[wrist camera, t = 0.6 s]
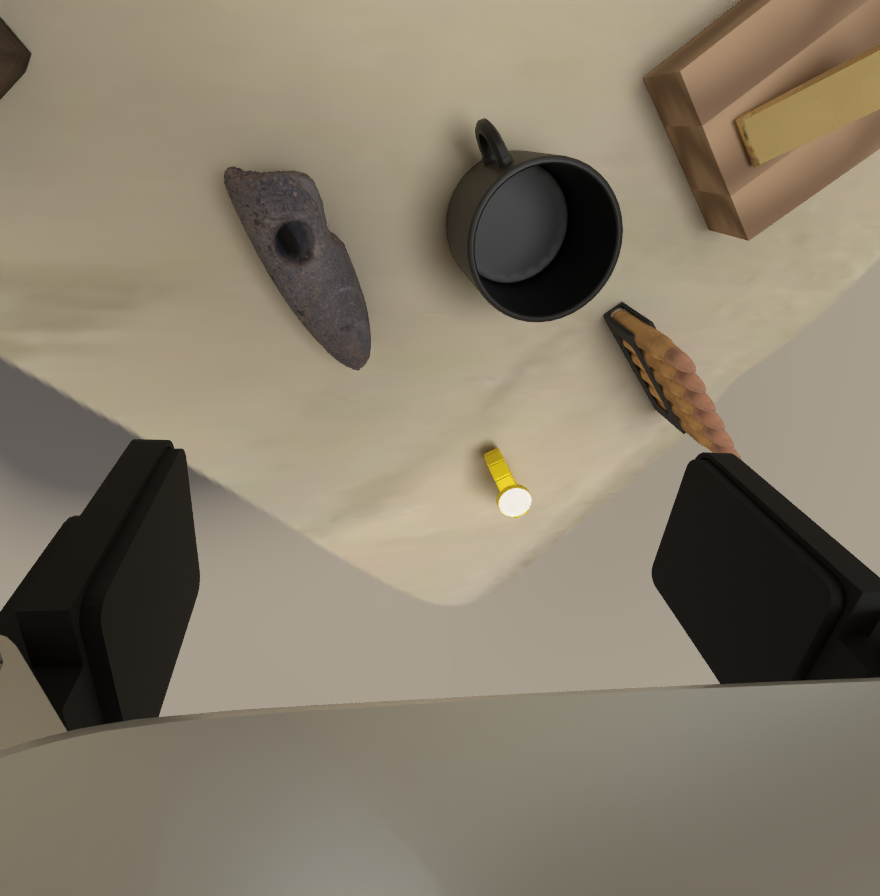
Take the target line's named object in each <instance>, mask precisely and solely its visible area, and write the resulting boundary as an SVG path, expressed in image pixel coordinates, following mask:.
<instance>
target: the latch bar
mask: <svg viewBox="0 0 880 896" xmlns="http://www.w3.org/2000/svg"><path fill="white" fill-rule="evenodd" d="M879 109H880V44H878V45H876V46H874V47H873V48H871V49H869V50H867V51H865V52H863V53H861V54H859V55H857V56H855V57H853V58H851V59H849V60H848V61H846V62H844V63H842V64H840V65H838V66H836V67H834V68H832V69H830V70H828V71H826V72H825V73H823V74H821V75H819V76H817V77H815V78H813V79H811V80H809V81H807V82H805V83H803V84H802V85H800V86H798V87H796V88H794V89H792V90H790V91H788V92H786V93H784V94H782V95H780V96H778V97H777V98H775V99H773V100H771V101H769V102H767V103H765V104H763V105H761V106H759V107H757V108H755V109H754V110H749V111H746V112H744V113H743V114H741V115H739V116H738V117H737V118H736V119H735V121H736V124H737V126H738V129H739V132H740V134H741V137H742V140H743V142H744V145H745V148H746V150H747V153H748V156H749V158H750V161H751V164H752V166H753V167H754V168H755V167H759V166H761V165H763V164H765V163H766V162H768V161H769V160H771V159H773V158H775V157H777V156H780V155H782V154H784V153H786V152H788V151H790V150H793V149H795V148H797V147H799V146H801V145H803V144H806V143H808V142H810V141H812V140H814V139H816V138H819V137H821V136H823V135H825V134H827V133H829V132H832V131H834V130H836V129H838V128H840V127H842V126H845V125H847V124H849V123H851V122H853V121H855V120H858V119H860V118H862V117H864V116H866V115H868V114H871V113H873V112H875V111H877V110H879Z"/></svg>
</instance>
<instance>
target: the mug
mask: <svg viewBox="0 0 880 896" xmlns="http://www.w3.org/2000/svg"><path fill="white" fill-rule="evenodd" d="M475 134H476V139H477V143H478V146H479V149H480V152H481V154H482V157H483V158H482V159H481V160H482V161H481V162H479V163H478V164H476V165H475V166H474V167H473V168H472V169H471V170H470V171H468V172H467V173H466V175H465V176H464V177H463V179H462V180H461V181H460V183H459V184H458V186H457V188H456V189H455V191H454V193H453V196H452V199H451V201H450V204H449V208H448V213H447V223H446V228H447V238H448V243H449V247H450V250H451V252H452V255H453V257H454V259H455V261H456V262H457V264H458V265H459V267H460V268H461V269H462V271H463V272H464V273H465V274H466V276H467V277H468V278H469V279H470V280H471V282H472V283H473V284H474V285H475V287H476V288H477V289H478V290H479V292H480V293H481V294H482V295H483V296H484V298H485V299H486V300H487V301H488V302H489V303H490V304H491V305H492V306H493V307H494V308H496V309H497V310H498V311H500V312H502V313H503V314H505V315H507V316H509V317H512V318H514V319H518V320H522V321H527V322H545V321H552V320H556V319H559V318H562V317H565V316H567V315H570V314H572V313H574V312H575V311H577V310H579V309H580V308H582V307H583V306H585V305H586V304H587V303H588V302H589V301H591V300H592V299H593V298H594V297H595V296H596V295H597V294H598V293H599V292H600V290H601V289H602V288H603V286H604V285H605V284H606V282H607V281H608V279H609V278H610V276H611V274H612V272H613V270H614V268H615V265H616V263H617V260H618V257H619V253H620V249H621V244H622V233H623V227H622V216H621V211H620V207H619V204H618V201H617V199H616V196H615V194H614V192H613V190H612V189H611V187H610V185H609V184H608V182H607V181H606V180H605V179H604V178H603V177H602V175H601V174H600V173H598V172H597V171H596V170H595V169H593V168H592V167H591V166H590V165H588V164H586V163H584V162H582V161H580V160H577V159H574V158H571V157H567V156H561V155H552V154H544V153H536V152H528V151H508V150H507V148H506V146H505V144H504V142H503V140H502V138H501V136H500V134H499V132H498V131H497V129H496V128H495V127H494V126H493V124H491V123H490V122H489V121H488V120H487V119H485V118H484V119H481V120H478V122H477V124H476V128H475Z"/></svg>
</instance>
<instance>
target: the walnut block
mask: <svg viewBox="0 0 880 896" xmlns="http://www.w3.org/2000/svg"><path fill="white" fill-rule="evenodd" d="M878 44H880V0H741V1H740V2H739V3H737V4H736V5H735V6H734V7H732V8H731V9H730V10H728V11H727V12H726V13H725V14H723V15H722V16H721V17H720V18H718V19H717V20H716V21H715V22H713V23H712V24H711V25H709V26H708V27H707V28H706V29H704V30H703V31H702V32H701V33H699V34H698V35H697V36H695V37H694V38H693V39H692V40H690V41H689V42H688V43H687V44H685V45H684V46H683V47H682V48H680V49H679V50H678V51H676V52H675V53H674V54H673V55H671V56H670V57H669V58H668V59H666V60H665V61H664V62H662V63H661V64H660V65H659V66H657V67H656V68H655V69H654V70H652V71H651V72H650V73H649V74H647V75H646V76H645V77H643V79H644V81H645V83H646V86H647V88H648V90H649V93H650V95H651V97H652V100H653V102H654V104H655V106H656V109H657V111H658V113H659V116H660V118H661V120H662V122H663V125H664V127H665V129H666V132H667V134H668V136H669V138H670V141H671V143H672V145H673V148H674V150H675V152H676V154H677V157H678V159H679V161H680V164H681V166H682V168H683V170H684V173H685V175H686V177H687V180H688V182H689V184H690V186H691V189H692V191H693V193H694V196H695V198H696V200H697V202H698V205H699V207H700V209H701V212H702V214H703V216H704V218H705V221H706V223H707V225H708V228H709V230H712V231H716V232H719V233H723V234H726V235H730V236H734V237H737V238H741V239H744V240H748V241H749V240H750V239H752V238H753V237H755V236H756V235H757V234H759V233H760V232H762V231H763V230H765V229H766V228H767V227H769V226H770V225H772V224H773V223H775V222H776V221H777V220H779V219H780V218H782V217H783V216H784V215H786V214H787V213H789V212H790V211H792V210H793V209H794V208H796V207H797V206H799V205H800V204H802V203H803V202H804V201H806V200H807V199H809V198H810V197H812V196H813V195H814V194H816V193H817V192H819V191H820V190H821V189H823V188H824V187H826V186H827V185H829V184H830V183H831V182H833V181H834V180H836V179H837V178H839V177H840V176H841V175H843V174H844V173H846V172H847V171H849V170H850V169H851V168H853V167H854V166H856V165H857V164H858V163H860V162H861V161H863V160H864V159H866V158H867V157H868V156H870V155H871V154H873V153H874V152H876V151H877V150H878V149H880V109H879V110H877V111H875V112H873V113H871V114H868V115H866V116H864V117H862V118H860V119H858V120H855V121H853V122H851V123H849V124H847V125H845V126H842V127H840V128H838V129H836V130H834V131H832V132H829V133H827V134H825V135H823V136H821V137H819V138H816V139H814V140H812V141H810V142H808V143H806V144H803V145H801V146H799V147H797V148H795V149H793V150H790V151H788V152H786V153H784V154H782V155H780V156H777V157H775V158H773V159H771V160H769V161H768V162H766V163H765V164H763V165H761V166H759V167H755V168H754V167H753V166H752V164H751V161H750V158H749V156H748V153H747V150H746V148H745V145H744V142H743V140H742V137H741V134H740V132H739V129H738V126H737V124H736V121H735V119H736V118H737V117H738V116H739V115H741V114H743V113H744V112H746V111H749V110H754V109H755V108H757V107H759V106H761V105H763V104H765V103H767V102H769V101H771V100H773V99H775V98H777V97H778V96H780V95H782V94H784V93H786V92H788V91H790V90H792V89H794V88H796V87H798V86H800V85H802V84H803V83H805V82H807V81H809V80H811V79H813V78H815V77H817V76H819V75H821V74H823V73H825V72H826V71H828V70H830V69H832V68H834V67H836V66H838V65H840V64H842V63H844V62H846V61H848V60H849V59H851V58H853V57H855V56H857V55H859V54H861V53H863V52H865V51H867V50H869V49H871V48H873V47H874V46H876V45H878Z"/></svg>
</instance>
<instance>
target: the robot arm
mask: <svg viewBox="0 0 880 896" xmlns="http://www.w3.org/2000/svg"><path fill="white" fill-rule="evenodd" d="M652 579H653V582H654V585H655V587H656V588H657V589H658V591H659V593H660V594H661V595H662V597H663V598H664V600H665V601H666V603H667V604H668V606H669V607H670V609H671V610H672V612H673V613H674V615H675V616H676V618H677V619H678V621H679V622H680V624H681V625H682V627H683V628H684V630H685V631H686V633H687V634H688V636H689V637H690V639H691V640H692V642H693V643H694V645H695V646H696V648H697V649H698V651H699V652H700V654H701V655H702V657H703V658H704V660H705V661H706V662H707V664H708V665H709V667H710V669H711V670H712V672H713V673H714V675H715V676H716V678H717V679H718V681H719V682H720V684H714V685H690V686H669V687H650V688H649V687H648V688H628V689H608V690H588V691H567V692H548V693H529V694H509V695H490V696H472V697H454V698H436V699H419V700H400V701H382V702H364V703H349V704H348V703H347V704H329V705H311V706H297V707H279V708H262V709H248V710H247V709H246V710H232V711H221V712H210V713H200V714H190V715H179V716H167V717H159V714H160V710H161V707H162V704H163V701H164V698H165V695H166V692H167V689H168V685H169V682H170V679H171V676H172V673H173V670H174V667H175V664H176V660H177V657H178V654H179V651H180V648H181V645H182V642H183V639H184V635H185V632H186V629H187V626H188V623H189V620H190V617H191V614H192V610H193V607H194V604H195V601H196V598H197V595H198V590H199V583H200V571H199V562H198V554H197V546H196V537H195V529H194V520H193V512H192V503H191V495H190V487H189V478H188V470H187V461H186V455H185V451H184V450H183V449H174V446H173V444H172V442H171V441H170V440H141V439H134V440H132V441H131V442H130V444H129V445H128V447H127V448H126V450H125V451H124V452H123V454H122V455H121V457H120V458H119V460H118V462H117V463H116V464H115V466H114V467H113V469H112V470H111V471H110V473H109V474H108V476H107V477H106V479H105V480H104V482H103V483H102V484H101V486H100V487H99V489H98V491H97V492H96V493H95V495H94V496H93V498H92V499H91V501H90V502H89V504H88V505H87V507H86V508H85V509H84V511H83V512H82V514H81V515H80V516H73V517H69V518H68V519H67V521H65V522H64V523H63V525H62V526H61V528H60V529H59V530H58V532H57V533H56V535H55V536H54V537H53V539H52V540H51V542H50V543H49V544H48V546H47V547H46V549H45V550H44V551H43V553H42V554H41V556H40V557H39V558H38V560H37V561H36V563H35V564H34V565H33V567H32V568H31V570H30V571H29V572H28V574H27V575H26V577H25V578H24V579H23V581H22V582H21V584H20V585H19V586H18V588H17V589H16V591H15V592H14V594H13V595H12V596H11V598H10V599H9V600H8V602H7V603H6V605H5V606H4V607H3V609H2V610H1V612H0V896H880V578H879V577H878V576H877V575H876V574H875V573H874V572H872V571H871V570H870V569H869V568H868V567H867V566H865V565H864V564H863V563H862V562H861V561H860V560H858V559H857V558H856V557H855V556H854V555H853V554H851V553H850V552H849V551H848V550H847V549H845V548H844V547H843V546H842V545H841V544H840V543H838V542H837V541H836V540H835V539H834V538H832V537H831V536H830V535H829V534H828V533H827V532H825V531H824V530H823V529H822V528H821V527H820V526H818V525H817V524H816V523H815V522H814V521H812V520H811V519H810V518H809V517H808V516H807V515H805V514H804V513H803V512H802V511H801V510H799V509H798V508H797V507H796V506H795V505H793V504H792V503H791V502H790V501H789V500H788V499H787V498H785V497H784V496H783V495H782V494H780V493H779V492H778V491H777V490H776V489H775V488H774V487H772V486H771V485H770V484H769V483H768V482H766V481H765V480H764V479H763V478H762V477H761V476H759V475H758V474H757V473H756V472H755V471H754V470H752V469H751V468H750V467H749V466H747V465H746V464H745V463H744V462H743V461H742V460H741V459H739V458H738V457H737V456H736V455H734V454H732V453H701V454H699V455H698V456H697V457H696V458H695V460H692V461H690V462H689V464H688V465H687V468H686V470H685V473H684V476H683V479H682V482H681V485H680V488H679V491H678V494H677V497H676V499H675V503H674V505H673V508H672V511H671V514H670V517H669V520H668V523H667V526H666V529H665V532H664V534H663V537H662V540H661V543H660V546H659V549H658V552H657V555H656V558H655V561H654V563H653V567H652Z"/></svg>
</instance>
